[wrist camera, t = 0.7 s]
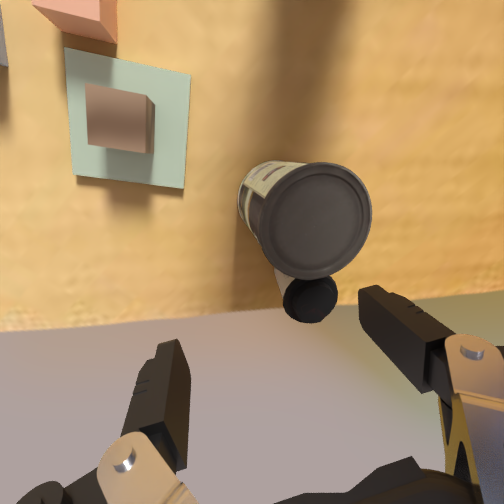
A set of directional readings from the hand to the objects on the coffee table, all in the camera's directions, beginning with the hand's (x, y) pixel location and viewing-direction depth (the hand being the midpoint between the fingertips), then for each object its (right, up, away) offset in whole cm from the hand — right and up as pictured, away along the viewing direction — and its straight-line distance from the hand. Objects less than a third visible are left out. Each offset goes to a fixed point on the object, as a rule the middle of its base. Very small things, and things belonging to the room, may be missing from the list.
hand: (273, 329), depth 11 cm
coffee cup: (+5, +1, +28) cm, 29 cm away
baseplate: (-14, +18, +18) cm, 29 cm away
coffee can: (+2, +10, +24) cm, 26 cm away
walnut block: (-14, +17, +17) cm, 28 cm away
